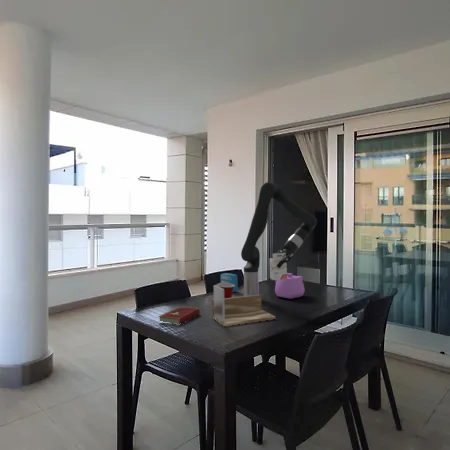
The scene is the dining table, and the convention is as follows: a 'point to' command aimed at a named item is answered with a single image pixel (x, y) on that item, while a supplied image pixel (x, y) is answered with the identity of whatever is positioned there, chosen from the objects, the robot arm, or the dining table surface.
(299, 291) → the teapot
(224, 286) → the plastic cup
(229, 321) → the shelf board
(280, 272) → the ink cartridge box
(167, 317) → the hardcover book
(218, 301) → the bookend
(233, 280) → the data package
